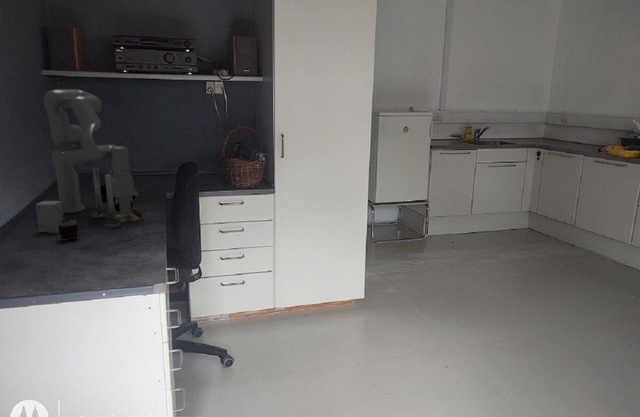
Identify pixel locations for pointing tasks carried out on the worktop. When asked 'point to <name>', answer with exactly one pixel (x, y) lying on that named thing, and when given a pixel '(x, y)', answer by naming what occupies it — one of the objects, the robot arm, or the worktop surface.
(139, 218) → the breaker board
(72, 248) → the worktop surface
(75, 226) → the mate gourd
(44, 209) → the small box
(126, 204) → the green block
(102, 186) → the muzzle brake
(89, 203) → the worktop surface
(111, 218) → the near post
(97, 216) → the far post
